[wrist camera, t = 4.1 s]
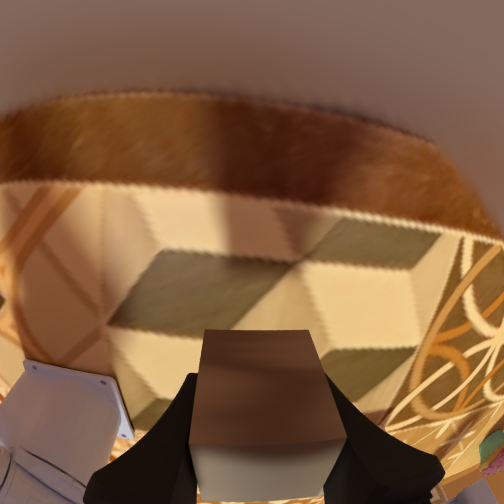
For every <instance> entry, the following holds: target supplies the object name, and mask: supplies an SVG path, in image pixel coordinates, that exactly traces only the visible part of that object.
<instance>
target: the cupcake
mask: <svg viewBox="0 0 504 504" xmlns="http://www.w3.org/2000/svg"><path fill="white" fill-rule="evenodd" d="M479 451H480V456H481V463H480V466H479V469H480V472H481V473H482V474H483V475H490V474H496V473H497V472H499V471H501V470H503V469H504V432H503V431H501V430H496V431H495V432H493V433H492V434H491V435H489V436H488V437H487V438H486V439H485V440H484V441H483V442H482V443H481V445H480V446H479Z"/></svg>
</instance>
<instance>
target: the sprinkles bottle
mask: <svg viewBox="0 0 504 504" xmlns="http://www.w3.org/2000/svg"><path fill="white" fill-rule="evenodd" d="M431 494H432V496H433V498H432V499H430V501H431V503H432V504H441V503H444V502H446V501H448V498H447V496H446V494H445V492H444V490H443V488H442V486H441V484H440V482H439V483H438V484H437V485H436V486H435V487H434V488H433V489H432V490H431Z"/></svg>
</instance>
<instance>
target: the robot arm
mask: <svg viewBox="0 0 504 504" xmlns="http://www.w3.org/2000/svg"><path fill="white" fill-rule="evenodd" d="M23 365H24V368H25V371H24V372H23V374H22V375H21V376H20V378H19V379H18V380H17V382H16V383H15V385H14V386H13V387H12V389H11V390H10V392H9V393H8V394H7V396H6V397H5V399H4V400H3V401H2V403H1V404H0V504H196V503H197V479H196V475H195V470H194V466H193V461H192V457H191V452H190V447H189V437H190V429H191V421H192V414H193V406H194V399H195V392H196V385H197V378H198V373H189V374H188V375H187V377H186V379H185V381H184V383H183V385H182V386H181V388H180V390H179V392H178V393H177V395H176V397H175V398H174V400H173V401H172V403H171V404H170V406H169V407H168V408H167V410H166V411H165V412H164V414H163V415H162V416H161V418H160V419H159V420H158V421H157V423H156V424H155V425H154V426H153V427H152V428H151V429H150V430H149V431H148V432H147V434H146V435H145V436H143V437H142V438H141V439H140V440H139V441H138V442H137V443H136V444H135V445H134V446H133V447H131V448H130V449H129V450H128V451H126V452H125V453H124V454H122V455H121V456H120V457H118V458H117V459H115V460H114V461H112V462H111V463H109V464H108V462H109V458H110V455H111V452H112V449H113V446H114V443H115V440H116V437H120V438H125V439H134V437H135V434H134V432H133V429H132V427H131V424H130V421H129V419H128V416H127V413H126V410H125V407H124V405H123V402H122V399H121V396H120V393H119V390H118V386H117V383H116V381H115V380H114V379H113V378H112V377H109V376H103V375H97V374H92V373H86V372H81V371H76V370H71V369H66V368H62V367H57V366H53V365H48V364H44V363H40V362H36V361H32V360H29V359H25V360H24V361H23ZM324 373H325V372H324ZM325 376H326V379H327V381H328V384H329V387H330V390H331V392H332V395H333V398H334V401H335V404H336V406H337V409H338V412H339V415H340V418H341V421H342V423H343V426H344V429H345V432H346V435H347V439H346V441H345V443H344V446H343V448H342V450H341V452H340V454H339V456H338V458H337V460H336V462H335V464H334V466H333V468H332V470H331V472H330V474H329V476H328V478H327V480H326V482H325V483H324V485H323V492H324V500H325V504H432V503H431V501H430V499H432V498H433V496H432V494H431V490H432V489H433V488H434V487H435V486H436V485H437V484H438V483H439V482H440V481H441V480H442V479H443V477H444V475H445V471H444V469H443V467H442V465H441V463H440V461H439V459H438V458H437V456H434V455H432V454H429V453H426V452H423V451H421V450H418V449H416V448H414V447H412V446H409V445H407V444H405V443H403V442H402V441H400V440H398V439H396V438H395V437H393V436H391V435H390V434H388V433H386V432H385V431H384V430H382V429H381V428H379V427H378V426H377V425H375V424H374V423H373V422H371V421H370V420H369V419H368V418H367V417H366V416H364V415H363V414H362V413H361V412H360V411H359V410H358V409H357V408H356V407H355V406H354V405H353V404H352V403H351V402H350V401H349V400H348V399H347V398H346V397H345V396H344V394H343V393H342V392H341V391H340V390H339V389H338V388H337V386H336V385H335V384H334V383H333V382H332V380H331V379H330V378H329V377H328V376H327V374H326V373H325ZM441 504H498V502H497V500H496V498H495V496H494V495H493V493H492V491H491V489H490V487H489V485H488V484H487V482H486V480H485V478H482V479H480V480H478V481H477V482H475V483H473V484H471V485H470V486H468V487H466V488H464V489H463V490H462V491H461V492H459V493H458V494H457V495H456V497H454V498H452V499H450V500H448V501H446V502H444V503H441Z"/></svg>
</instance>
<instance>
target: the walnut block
mask: <svg viewBox="0 0 504 504" xmlns="http://www.w3.org/2000/svg"><path fill="white" fill-rule="evenodd" d="M346 439H347V435H346V432H345V429H344V426H343V423H342V421H341V418H340V415H339V412H338V409H337V406H336V404H335V401H334V398H333V395H332V392H331V390H330V387H329V384H328V381H327V379H326V376H325V373H324V370H323V368H322V365H321V362H320V359H319V357H318V354H317V351H316V349H315V346H314V343H313V341H312V338H311V335H310V333H309V330H209V329H205V332H204V338H203V345H202V351H201V358H200V364H199V371H198V378H197V385H196V392H195V399H194V406H193V414H192V421H191V429H190V437H189V447H190V452H191V457H192V461H193V466H194V470H195V475H196V479H197V483H198V487H199V491H200V495H201V499H202V500H203V501H224V502H255V501H276V500H289V499H299V498H308V497H315V496H318V494H319V493H320V491H321V489H322V487H323V485H324V483H325V482H326V480H327V478H328V476H329V474H330V472H331V470H332V468H333V466H334V464H335V462H336V460H337V458H338V456H339V454H340V452H341V450H342V448H343V446H344V443H345V441H346Z"/></svg>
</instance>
